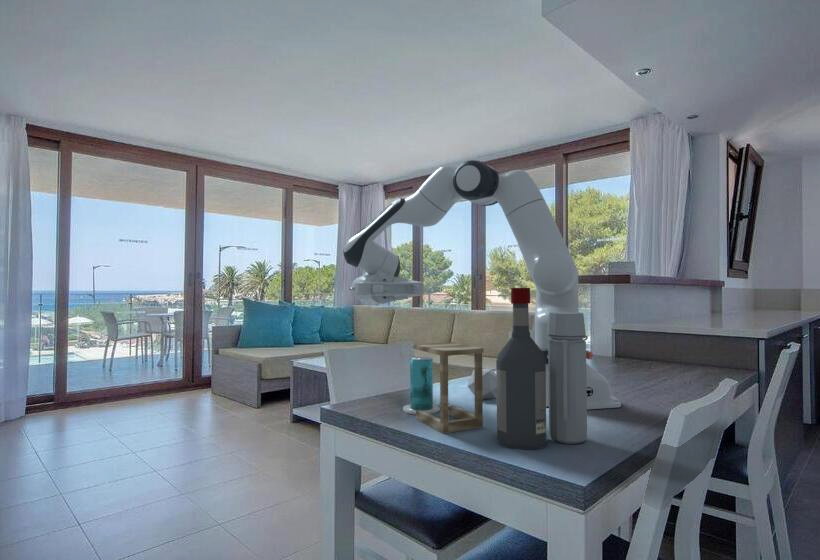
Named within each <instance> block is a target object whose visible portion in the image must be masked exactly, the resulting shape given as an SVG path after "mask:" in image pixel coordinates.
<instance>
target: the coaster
mask: <svg viewBox="0 0 820 560" xmlns="http://www.w3.org/2000/svg"><path fill="white" fill-rule="evenodd" d="M402 411H403V412H404V413H406V414H409V415H412V416H413V415H414V416H416V410H413V409H411V408H410V403H408V404H406V405H404V406H403V408H402ZM423 411H424V412H426V413H428V414H430V415H435V414H437V413H439V412H440V406H439V405H437V404H435V403H433V408H432V409H430V410H423Z"/></svg>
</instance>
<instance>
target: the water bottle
mask: <svg viewBox="0 0 820 560" xmlns="http://www.w3.org/2000/svg"><path fill="white" fill-rule="evenodd" d="M585 324H586V323H585V314H584V312H579V311H578V312H549V317H548V328H547V334H549V335H547V336H546V338H547V339H548V375H549V407H548V434H549V436H550V437H551V439H552V440H553V441H555V442H558V443H562V444H566V445H577V444H581V443H584V442H585V441H586V440H587V439H588V415H587V414H588V410H587V384H586V363H587V358H586V351H587V340H589V339H588V338H589V337H588V335H587V333H586V325H585ZM548 337H550V338H551V339H550V338H548Z"/></svg>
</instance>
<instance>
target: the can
mask: <svg viewBox="0 0 820 560" xmlns="http://www.w3.org/2000/svg"><path fill="white" fill-rule="evenodd" d="M433 367H434V365H433V358H432V356H413V357H410V358H409V380H410V381H409V404H410V408H411V409H413V410H422V411H423V410H430V409H432V408H433V404H434V389H433V387H434V383H433V382H434V379H433V377H434V375H433V373H434V372H433V369H434V368H433Z"/></svg>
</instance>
